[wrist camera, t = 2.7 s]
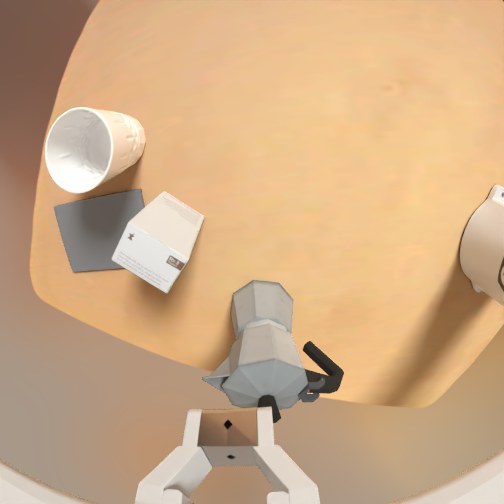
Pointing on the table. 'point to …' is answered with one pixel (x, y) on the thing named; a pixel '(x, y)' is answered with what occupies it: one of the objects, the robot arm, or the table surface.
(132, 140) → the white cup
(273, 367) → the coffee maker
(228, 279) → the table surface
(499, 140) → the table surface
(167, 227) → the skincare box
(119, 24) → the table surface
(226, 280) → the table surface
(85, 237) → the mat
